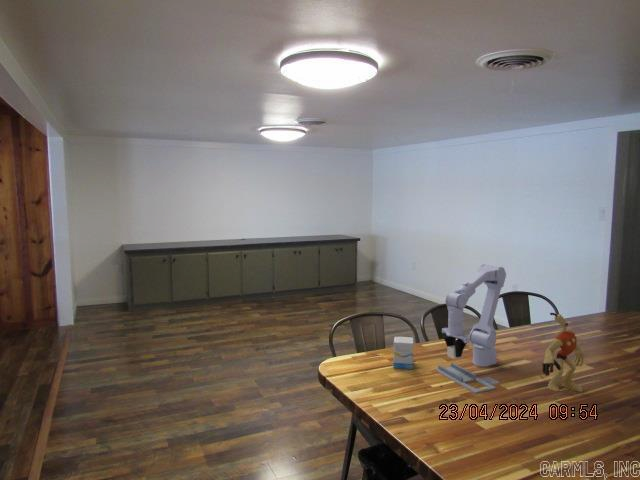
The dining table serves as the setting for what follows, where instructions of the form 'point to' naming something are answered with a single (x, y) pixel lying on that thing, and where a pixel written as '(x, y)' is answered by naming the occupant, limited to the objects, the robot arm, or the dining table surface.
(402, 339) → the ink box
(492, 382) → the pad
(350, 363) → the dining table surface
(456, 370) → the rail board
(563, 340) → the toy
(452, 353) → the block
